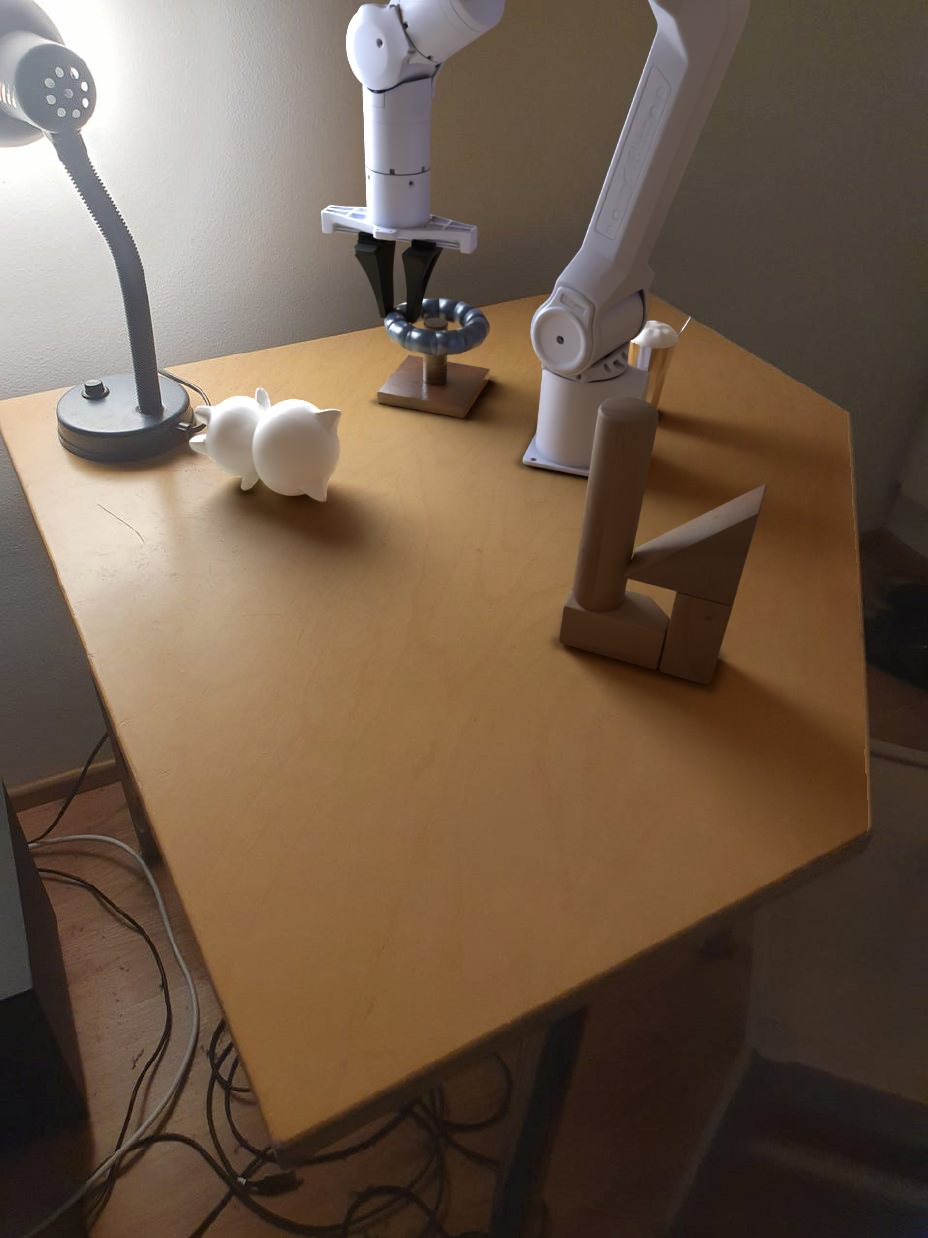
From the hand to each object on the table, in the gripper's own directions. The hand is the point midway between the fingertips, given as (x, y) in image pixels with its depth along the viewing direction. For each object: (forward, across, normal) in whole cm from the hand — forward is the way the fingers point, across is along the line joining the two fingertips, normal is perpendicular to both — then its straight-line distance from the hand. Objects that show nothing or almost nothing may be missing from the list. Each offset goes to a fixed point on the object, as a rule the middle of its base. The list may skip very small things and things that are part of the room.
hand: (399, 316), depth 89 cm
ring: (0, +4, 0) cm, 4 cm away
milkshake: (+7, +25, +3) cm, 26 cm away
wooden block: (+7, +30, -32) cm, 44 cm away
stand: (+7, +4, 0) cm, 8 cm away
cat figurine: (+7, -4, -20) cm, 22 cm away
